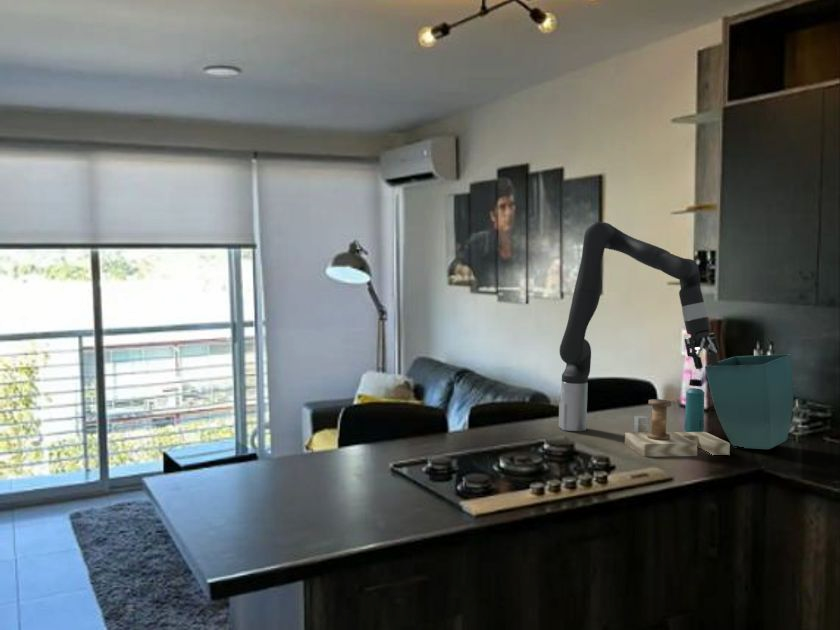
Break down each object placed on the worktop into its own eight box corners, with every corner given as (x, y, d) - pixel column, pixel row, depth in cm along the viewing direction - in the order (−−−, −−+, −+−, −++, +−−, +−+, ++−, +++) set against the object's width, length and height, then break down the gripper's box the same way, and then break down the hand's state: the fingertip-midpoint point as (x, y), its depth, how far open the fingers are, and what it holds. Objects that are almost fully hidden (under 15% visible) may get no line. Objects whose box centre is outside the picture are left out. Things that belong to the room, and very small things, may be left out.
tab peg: (637, 441, 256) (638, 418, 255) (633, 439, 259) (634, 416, 258) (647, 441, 256) (648, 418, 255) (643, 438, 259) (644, 415, 259)
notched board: (644, 456, 235) (644, 443, 234) (624, 444, 251) (625, 432, 250) (729, 455, 238) (729, 443, 238) (704, 443, 254) (705, 431, 253)
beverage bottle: (700, 438, 261) (702, 381, 260) (681, 435, 265) (683, 379, 264) (706, 435, 266) (708, 379, 265) (687, 432, 270) (689, 377, 269)
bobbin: (652, 440, 239) (654, 403, 239) (643, 435, 246) (645, 399, 246) (673, 440, 240) (675, 403, 239) (664, 435, 247) (665, 399, 246)
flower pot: (775, 453, 233) (762, 363, 233) (715, 450, 249) (703, 365, 249) (804, 439, 246) (791, 353, 246) (745, 436, 261) (734, 356, 261)
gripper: (699, 317, 253) (709, 365, 252) (673, 322, 245) (684, 371, 243) (718, 313, 247) (729, 362, 246) (692, 318, 239) (704, 368, 237)
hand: (707, 366), depth 245 cm, fingers open, 8 cm apart
